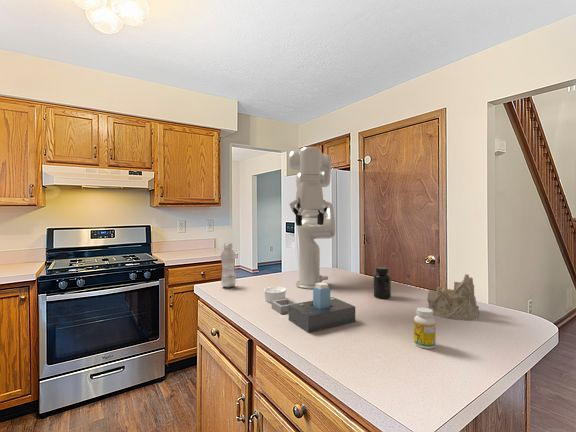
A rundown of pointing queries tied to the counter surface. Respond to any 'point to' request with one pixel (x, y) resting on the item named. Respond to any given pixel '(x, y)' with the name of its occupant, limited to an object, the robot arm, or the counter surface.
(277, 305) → the frame
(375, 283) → the supplement bottle
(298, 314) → the port panel
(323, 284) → the plug
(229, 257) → the plastic bottle
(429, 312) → the supplement bottle
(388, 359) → the counter surface
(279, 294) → the ramekin
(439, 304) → the ceramic cottage
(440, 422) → the counter surface
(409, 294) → the counter surface
